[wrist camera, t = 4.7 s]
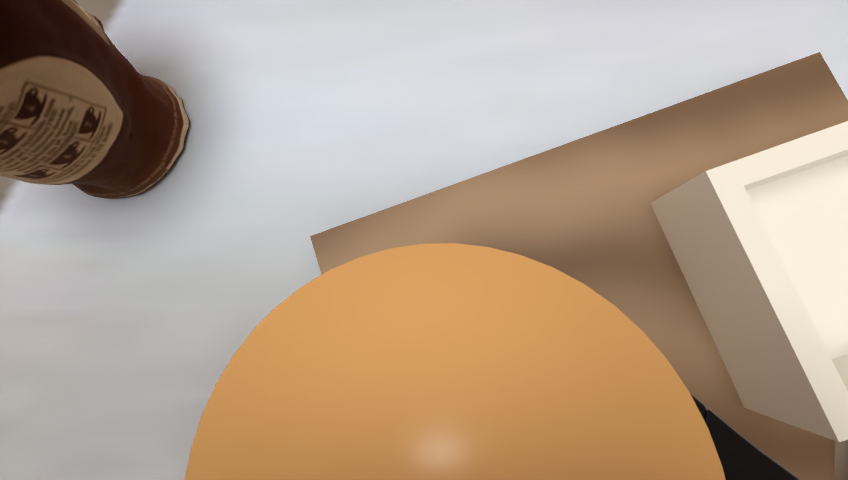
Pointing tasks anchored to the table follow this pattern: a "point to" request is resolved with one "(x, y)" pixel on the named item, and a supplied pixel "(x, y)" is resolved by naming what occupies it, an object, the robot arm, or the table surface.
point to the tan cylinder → (450, 381)
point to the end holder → (773, 274)
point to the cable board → (630, 226)
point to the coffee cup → (80, 105)
